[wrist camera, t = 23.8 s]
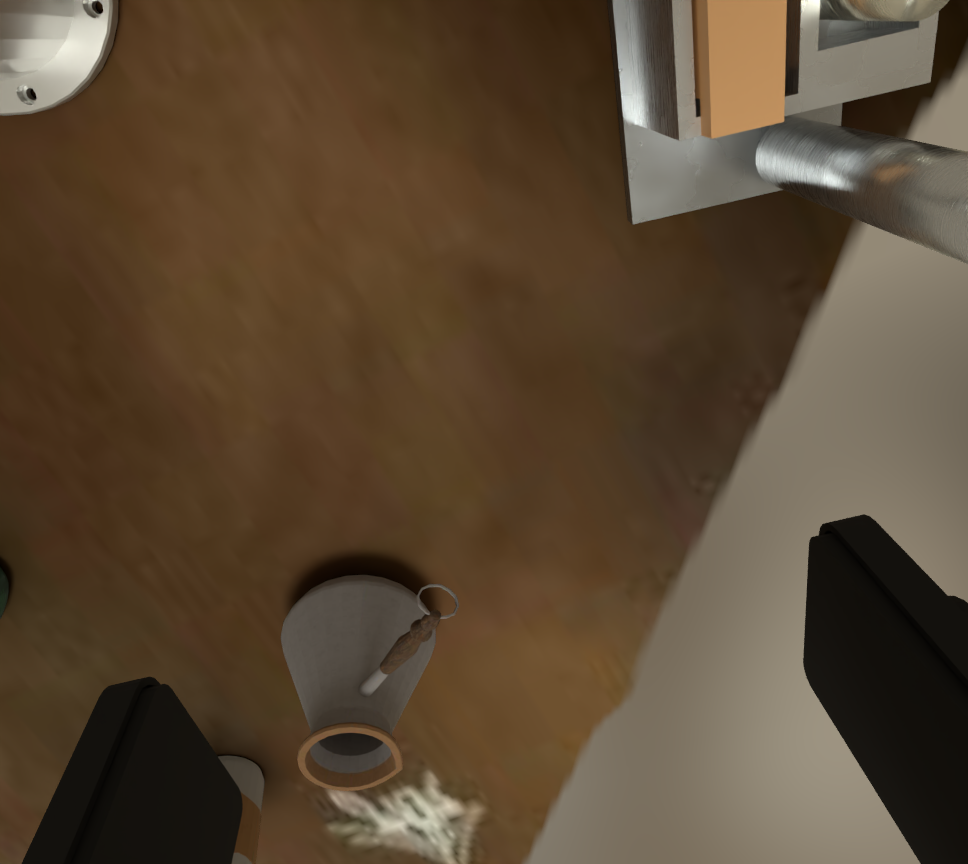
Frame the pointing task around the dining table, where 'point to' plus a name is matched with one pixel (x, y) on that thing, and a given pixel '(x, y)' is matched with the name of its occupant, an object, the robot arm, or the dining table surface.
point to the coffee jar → (3, 591)
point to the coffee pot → (356, 674)
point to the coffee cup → (246, 806)
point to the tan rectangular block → (739, 64)
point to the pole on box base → (786, 125)
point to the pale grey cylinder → (879, 10)
